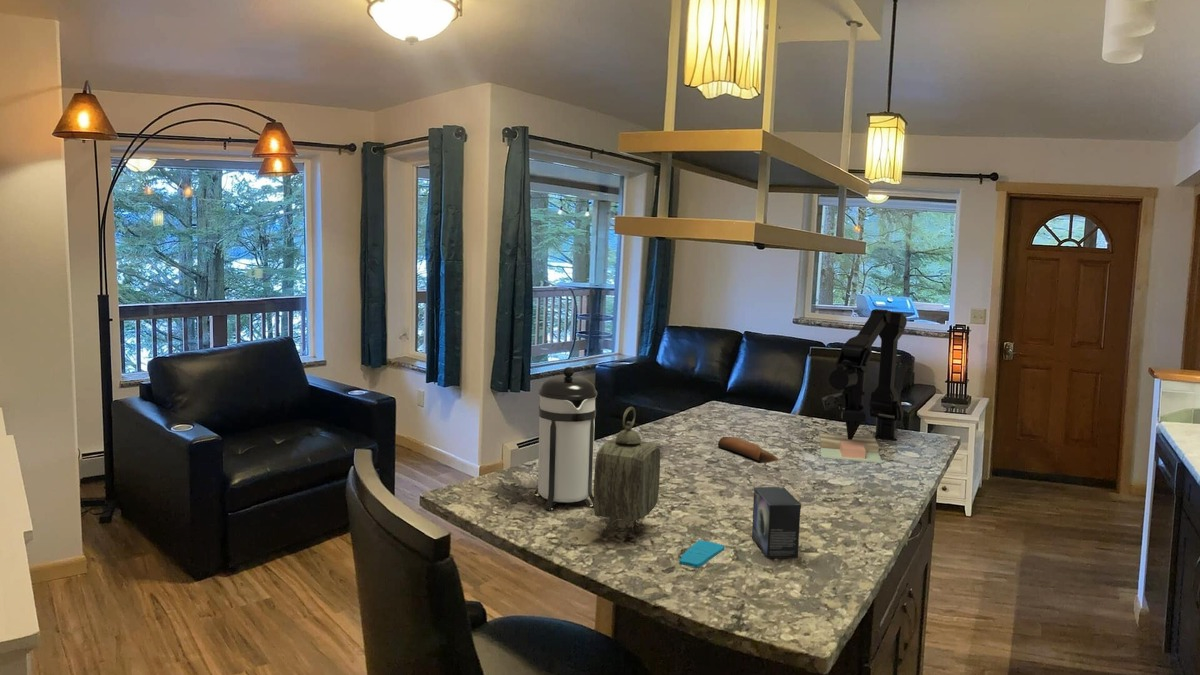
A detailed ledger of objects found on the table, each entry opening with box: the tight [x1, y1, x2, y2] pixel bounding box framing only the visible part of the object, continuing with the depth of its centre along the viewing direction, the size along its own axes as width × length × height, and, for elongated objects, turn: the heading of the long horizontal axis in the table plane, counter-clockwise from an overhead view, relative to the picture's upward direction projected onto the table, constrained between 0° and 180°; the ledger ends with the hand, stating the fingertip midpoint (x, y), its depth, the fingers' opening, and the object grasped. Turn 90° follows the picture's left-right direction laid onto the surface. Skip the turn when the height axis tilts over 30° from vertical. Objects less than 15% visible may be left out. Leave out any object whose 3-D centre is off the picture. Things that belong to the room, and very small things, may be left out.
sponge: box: [678, 539, 726, 569], centre depth 143 cm, size 2×12×6 cm
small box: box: [751, 486, 802, 559], centre depth 147 cm, size 11×6×10 cm, turn 5°
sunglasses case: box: [717, 436, 780, 464], centre depth 216 cm, size 18×7×7 cm
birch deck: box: [819, 432, 880, 453], centre depth 229 cm, size 12×16×2 cm
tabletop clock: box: [593, 406, 661, 538], centre depth 152 cm, size 14×9×25 cm, turn 159°
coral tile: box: [839, 441, 866, 459], centre depth 219 cm, size 9×6×2 cm, turn 168°
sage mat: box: [820, 448, 883, 464], centre depth 218 cm, size 10×16×1 cm, turn 75°
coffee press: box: [533, 366, 598, 511], centre depth 170 cm, size 17×16×30 cm
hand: (849, 439), depth 223 cm, fingers closed
